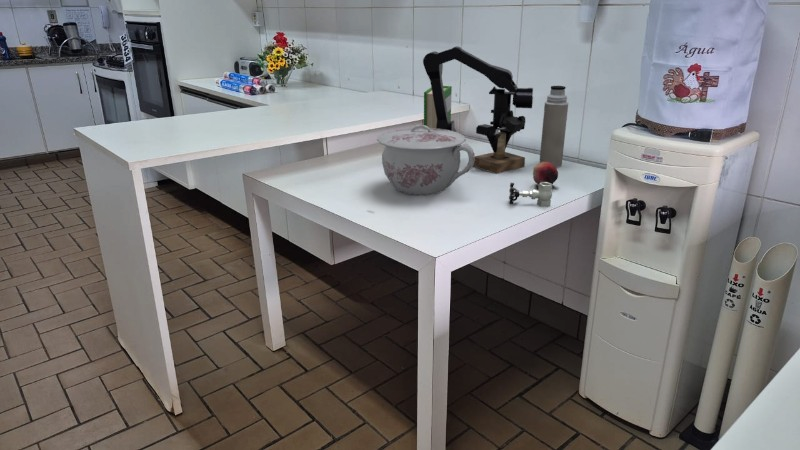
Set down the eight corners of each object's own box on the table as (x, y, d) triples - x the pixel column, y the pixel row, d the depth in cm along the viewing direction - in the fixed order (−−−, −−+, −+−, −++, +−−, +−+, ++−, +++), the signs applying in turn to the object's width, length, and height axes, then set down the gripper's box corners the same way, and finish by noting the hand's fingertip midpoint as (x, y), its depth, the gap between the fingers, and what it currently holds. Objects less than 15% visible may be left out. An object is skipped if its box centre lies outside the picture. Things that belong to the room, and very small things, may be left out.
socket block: (496, 173, 190) (497, 163, 189) (472, 166, 199) (473, 156, 198) (524, 166, 198) (525, 157, 196) (500, 159, 207) (500, 150, 205)
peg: (498, 160, 195) (500, 135, 191) (490, 157, 198) (492, 133, 194) (506, 158, 197) (508, 133, 193) (498, 156, 200) (500, 131, 196)
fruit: (547, 181, 181) (549, 158, 178) (561, 188, 175) (564, 164, 172) (527, 184, 179) (529, 160, 176) (541, 191, 172) (543, 167, 169)
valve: (549, 201, 164) (508, 200, 165) (551, 180, 161) (510, 179, 163) (552, 209, 158) (509, 207, 159) (554, 187, 155) (511, 186, 157)
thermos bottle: (537, 161, 205) (544, 84, 194) (559, 161, 204) (567, 84, 193) (540, 167, 197) (548, 87, 187) (563, 167, 196) (572, 87, 186)
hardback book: (442, 155, 213) (443, 92, 204) (423, 154, 215) (424, 92, 206) (450, 144, 229) (451, 86, 220) (432, 143, 231) (433, 85, 222)
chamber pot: (367, 181, 183) (365, 119, 175) (442, 172, 192) (443, 113, 184) (396, 209, 159) (395, 138, 151) (480, 197, 168) (483, 130, 160)
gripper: (499, 114, 179) (496, 160, 185) (538, 107, 189) (534, 151, 195) (476, 109, 188) (474, 153, 194) (514, 103, 198) (511, 145, 204)
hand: (499, 151), depth 196 cm, fingers closed on peg, 4 cm apart
